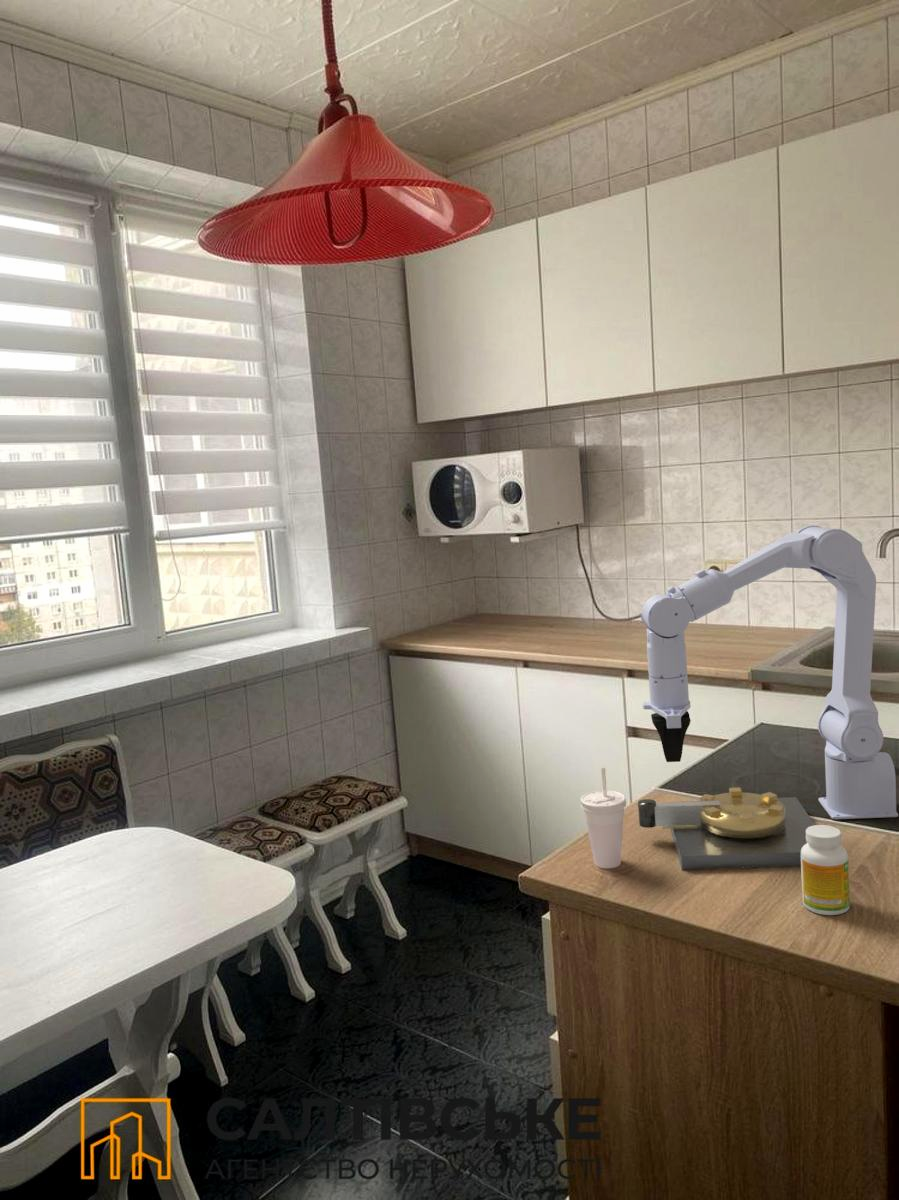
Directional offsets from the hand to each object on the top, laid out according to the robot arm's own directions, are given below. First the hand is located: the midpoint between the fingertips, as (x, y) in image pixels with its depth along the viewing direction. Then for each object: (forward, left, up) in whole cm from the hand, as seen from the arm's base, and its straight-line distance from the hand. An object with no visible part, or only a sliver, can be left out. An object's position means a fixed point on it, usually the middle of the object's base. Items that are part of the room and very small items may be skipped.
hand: (673, 760), depth 138 cm
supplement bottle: (-15, +27, -10) cm, 32 cm away
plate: (-9, +6, -10) cm, 15 cm away
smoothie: (+11, +13, -10) cm, 20 cm away
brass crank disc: (-4, +6, -8) cm, 11 cm away
